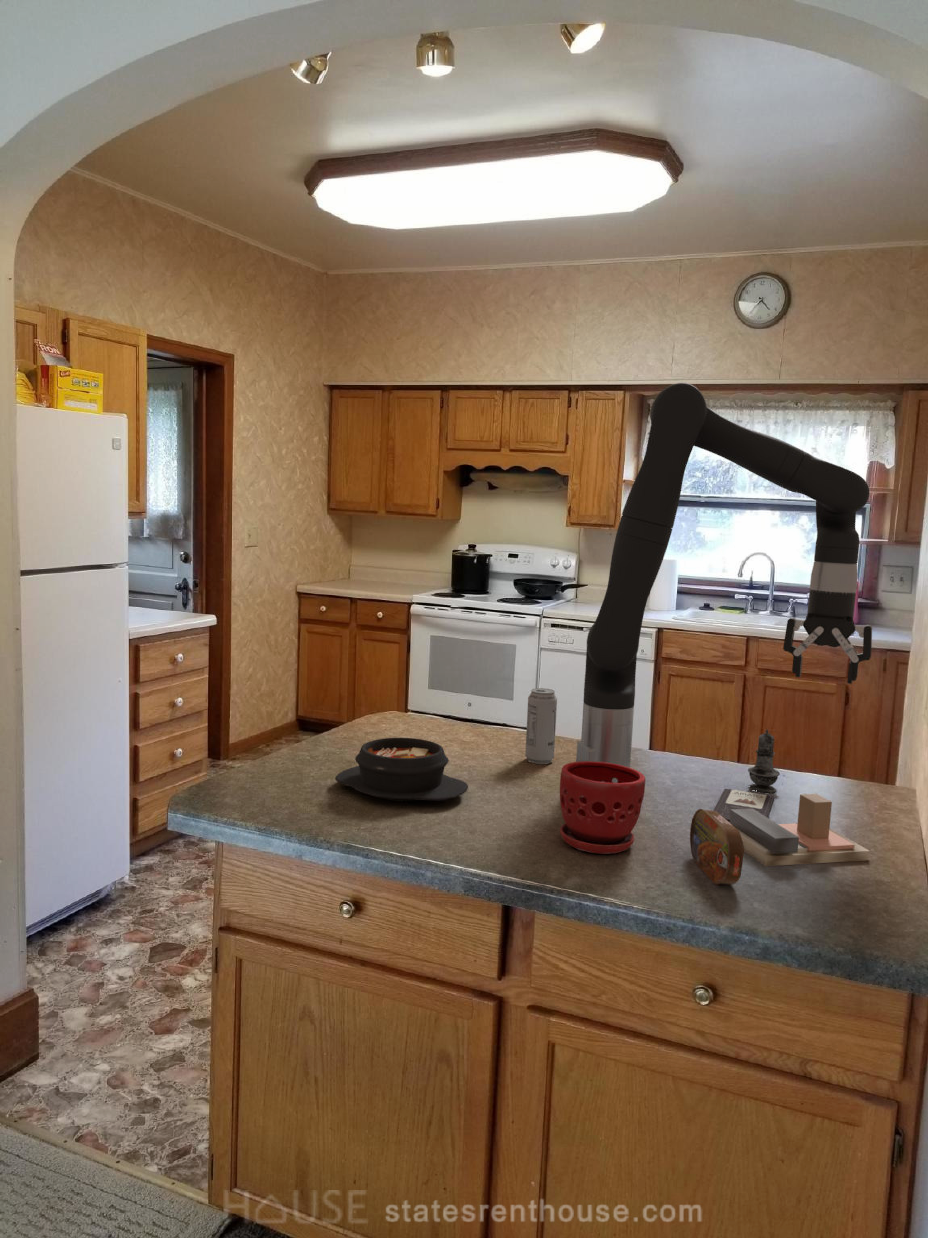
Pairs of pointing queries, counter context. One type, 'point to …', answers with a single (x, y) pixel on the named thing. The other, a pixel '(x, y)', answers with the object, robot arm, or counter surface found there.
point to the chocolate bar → (743, 802)
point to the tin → (716, 847)
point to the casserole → (402, 771)
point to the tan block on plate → (816, 825)
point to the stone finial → (764, 766)
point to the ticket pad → (809, 855)
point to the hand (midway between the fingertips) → (823, 679)
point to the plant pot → (600, 805)
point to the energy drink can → (541, 726)
